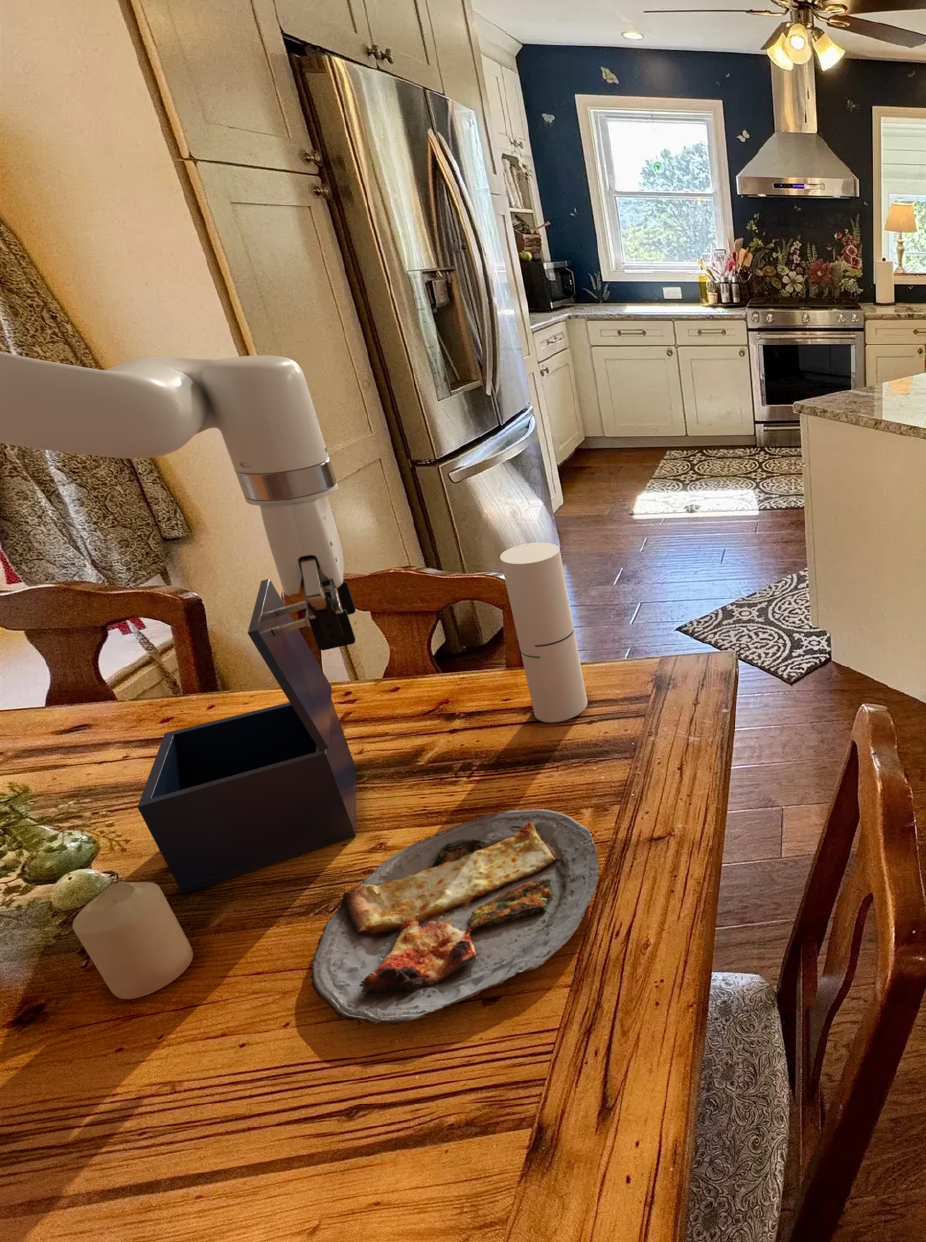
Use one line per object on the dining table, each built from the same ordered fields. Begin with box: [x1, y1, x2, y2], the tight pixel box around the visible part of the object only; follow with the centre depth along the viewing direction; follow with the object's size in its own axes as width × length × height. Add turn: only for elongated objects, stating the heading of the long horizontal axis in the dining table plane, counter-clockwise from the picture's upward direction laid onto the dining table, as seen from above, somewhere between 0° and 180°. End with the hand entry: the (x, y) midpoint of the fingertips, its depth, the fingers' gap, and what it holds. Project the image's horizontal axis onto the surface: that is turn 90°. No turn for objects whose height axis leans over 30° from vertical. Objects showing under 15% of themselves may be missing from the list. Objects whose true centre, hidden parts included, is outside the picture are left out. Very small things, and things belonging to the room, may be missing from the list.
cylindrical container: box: [499, 541, 588, 723], centre depth 103 cm, size 7×7×25 cm
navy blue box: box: [137, 698, 357, 895], centre depth 83 cm, size 15×14×12 cm
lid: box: [247, 578, 333, 751], centre depth 82 cm, size 16×14×5 cm
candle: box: [72, 881, 194, 1000], centre depth 67 cm, size 6×6×10 cm
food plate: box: [310, 808, 601, 1026], centre depth 75 cm, size 25×23×4 cm
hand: (338, 629), depth 82 cm, fingers open, 7 cm apart
